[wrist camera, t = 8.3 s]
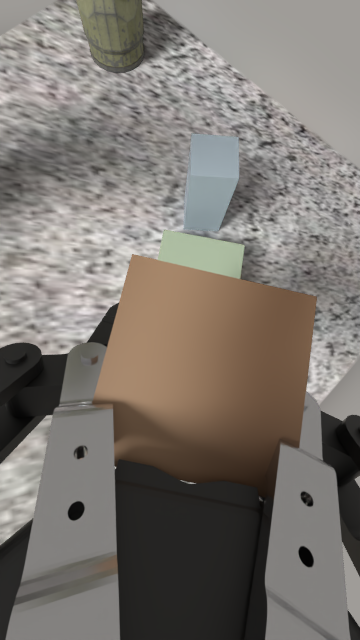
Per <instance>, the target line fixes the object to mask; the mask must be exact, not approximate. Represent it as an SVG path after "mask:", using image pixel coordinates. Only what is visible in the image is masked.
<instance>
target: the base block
mask: <svg viewBox="0 0 360 640" xmlns="http://www.w3.org/2000/svg"><path fill="white" fill-rule="evenodd" d="M244 247H245V245H242V244H237V243H232V242H226V241H221V240H216V239H211V238H205V237H200V236H195V235H190V234H185V233H179V232H174V231H169V230H164V232H163V237H162V242H161V246H160V251H159V256H158V260H160V261H164V262H169V263H173V264H177V265H182V266H186V267H190V268H194V269H199V270H203V271H207V272H212V273H216V274H220V275H225V276H229V277H233V278H238V279H241V269H242V262H243V254H244Z"/></svg>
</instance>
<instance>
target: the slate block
mask: <svg viewBox="0 0 360 640" xmlns="http://www.w3.org/2000/svg"><path fill="white" fill-rule="evenodd" d="M238 180H239V137H232V136H219V135H206V134H193V133H192V135H191V144H190V153H189V162H188V172H187V181H186V190H185V201H184V229H188V230H206V231H219V228H220V226H221V223H222V220H223V218H224V215H225V213H226V210H227V208H228V205H229V203H230V200H231V198H232V195H233V193H234V190H235V188H236V185H237V183H238Z"/></svg>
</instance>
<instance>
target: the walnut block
mask: <svg viewBox="0 0 360 640" xmlns="http://www.w3.org/2000/svg"><path fill="white" fill-rule="evenodd" d="M316 301H317V297H316V296H311V295H307V294H303V293H298V292H294V291H290V290H285V289H281V288H277V287H272V286H268V285H264V284H259V283H255V282H251V281H246V280H242V279H238V278H233V277H229V276H225V275H220V274H216V273H212V272H207V271H203V270H199V269H194V268H190V267H186V266H182V265H177V264H173V263H169V262H164V261H160V260H156V259H151V258H147V257H143V256H138V255H134V254H132V257H131V261H130V265H129V269H128V272H127V276H126V280H125V283H124V287H123V291H122V294H121V298H120V302H119V305H118V309H117V313H116V317H115V320H114V324H113V328H112V331H111V335H110V339H109V342H108V346H107V350H106V354H105V357H104V361H103V365H102V368H101V372H100V376H99V379H98V383H97V387H96V390H95V394H94V398H93V402H92V404H93V403H112V402H113V429H114V466H115V467H117V464H118V460H119V459H121V460H126V461H131V462H136V463H141V464H145V465H150V466H154V467H156V468H158V469H160V470H162V471H163V472H165V473H167V474H169V475H171V476H173V477H175V478H177V479H179V480H183V481H187V482H192V483H207V482H216V481H228V482H232V483H237V484H242V485H247V486H252V487H257V489H258V496H260V497H264V498H265V495H266V488H267V480H266V477H265V474H266V472H267V469H268V466H269V464H270V461H271V459H272V456H273V454H274V451H275V449H276V446H277V443H278V441H279V438H280V439H282V440H285V441H287V442H289V443H291V444H292V445H294V446H296V447H298V448H299V446H300V437H301V429H302V420H303V412H304V403H305V395H306V386H307V378H308V369H309V361H310V352H311V343H312V335H313V326H314V318H315V309H316ZM81 459H82V458H81Z"/></svg>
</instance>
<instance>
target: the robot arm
mask: <svg viewBox="0 0 360 640" xmlns="http://www.w3.org/2000/svg"><path fill="white" fill-rule="evenodd" d="M118 305H119V303H117V304H116V305H114V306H112V307H110V309H109V310H108V312H107V313H106V315H105V316H104V318H103V319H102V322H100V324H99V325H98V327H97V328H96V330H95V331H94V333H93V334H92V336H91V337H90V339H89V340H88V342H87V343H83V344H80V345H77V346H76V347H74V348H73V349H72V350H71V351H70V352H69V353H68V354H60V355H42V354H41V350H40V349H39V348H38V347H37V346H36V345H33V344H30V343H15V344H10V345H7V346H5V347H2V348H1V349H0V464H1V463H2V462H3V461H4V459H5V458H6V457H7V456H8V455H9V454H10V453H11V452H12V451H13V450H14V449H15V448H16V447H17V446H18V445H19V444H20V443H21V442H22V441H23V440H24V439H25V437H26V436H27V435H28V434H29V433H30V432H31V431H32V430H33V429H34V428H35V427H36V426H37V425H38V424H39V423H40V422H41V421H42V420H43V419H44V418H45V417H46V415H53V417H52V422H51V427H50V433H49V438H48V443H47V448H46V454H45V459H44V464H43V470H42V475H41V480H40V486H39V491H38V496H37V502H36V507H35V512H34V518H33V519H32V520H30V521H29V522H28V523H27V524H26V525H24V526H23V527H22V528H21V529H20V530H18V531H17V532H16V533H15V534H14V535H12V536H11V537H10V538H9V539H7V540H6V541H5V542H4V543H3V544H1V545H0V640H360V627H359V626H358V624H357V623H356V622H355V620H354V618H353V617H352V615H351V614H350V612H349V611H348V610H347V598H346V587H345V574H344V563H343V550H342V542H343V544H344V546H345V548H346V550H347V552H348V554H349V556H350V558H351V560H352V562H353V564H354V566H355V568H356V570H357V572H358V574H359V576H360V488H359V486H358V485H357V483H356V481H355V480H354V479H355V478H357V477H358V476H360V416H357V415H350V416H348V417H347V418H346V419H345V420H344V421H341V420H339V419H337V418H335V417H333V416H330V415H328V414H326V413H324V412H322V411H321V410H320V407H319V405H318V403H317V401H316V400H315V399H314V398H313V397H312V396H311V395H310V394H309V393H308V392H306V395H305V403H304V412H303V420H302V429H301V437H300V446H299V448H298V447H296V446H294V445H292V444H291V443H289V442H287V441H285V440H282V439H280V438H279V441H278V443H277V446H276V449H275V451H274V454H273V456H272V459H271V461H270V464H269V466H268V469H267V472H266V474H265V477H266V480H267V488H266V495H265V498H264V497H260V496H258V489H257V487H252V486H247V485H242V484H237V483H232V482H228V481H216V482H207V483H197V484H187V483H184V482H182V481H180V480H179V479H177V478H175V477H173V476H171V475H169V474H167V473H165V472H163V471H162V470H160V469H158V468H156V467H154V466H150V465H145V464H141V463H136V462H131V461H126V460H121V459H119V460H118V464H117V467H116V469H115V467H114V429H113V402H112V403H93V404H92V402H93V398H94V394H95V390H96V387H97V383H98V379H99V376H100V372H101V368H102V365H103V361H104V357H105V354H106V350H107V346H108V342H109V339H110V335H111V331H112V328H113V324H114V320H115V317H116V313H117V309H118ZM81 458H82V459H81Z"/></svg>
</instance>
